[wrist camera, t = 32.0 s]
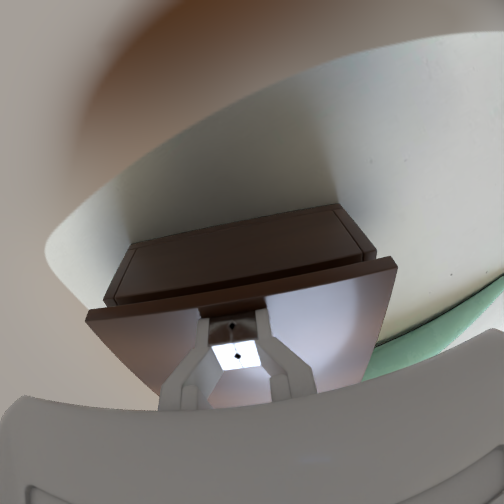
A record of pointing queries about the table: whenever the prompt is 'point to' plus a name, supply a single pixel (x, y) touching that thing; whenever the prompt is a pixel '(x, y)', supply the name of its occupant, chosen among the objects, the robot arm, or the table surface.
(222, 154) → the table surface
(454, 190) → the table surface
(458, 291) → the table surface
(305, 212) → the chest
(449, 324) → the mint green cone
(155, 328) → the chest lid
